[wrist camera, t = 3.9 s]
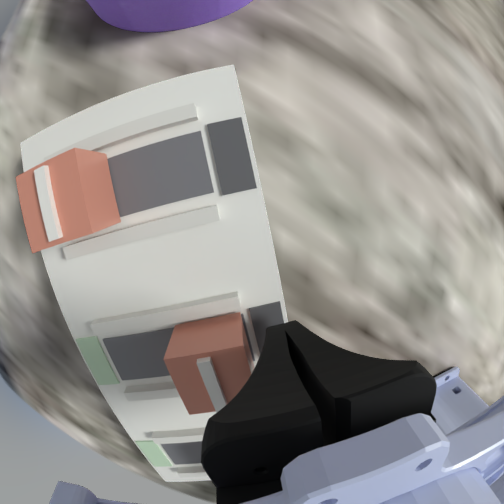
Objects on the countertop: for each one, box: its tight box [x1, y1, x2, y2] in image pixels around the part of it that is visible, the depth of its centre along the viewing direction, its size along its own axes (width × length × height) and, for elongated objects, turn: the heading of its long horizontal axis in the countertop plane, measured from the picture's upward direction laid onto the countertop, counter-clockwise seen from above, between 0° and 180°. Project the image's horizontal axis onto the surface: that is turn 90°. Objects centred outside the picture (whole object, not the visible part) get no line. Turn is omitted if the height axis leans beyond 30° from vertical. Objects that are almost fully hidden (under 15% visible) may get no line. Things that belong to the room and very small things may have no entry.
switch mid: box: [163, 312, 254, 415], centre depth 11 cm, size 3×3×3 cm
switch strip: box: [20, 65, 288, 482], centre depth 14 cm, size 11×24×3 cm, turn 12°
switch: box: [16, 148, 121, 253], centre depth 9 cm, size 3×3×3 cm
